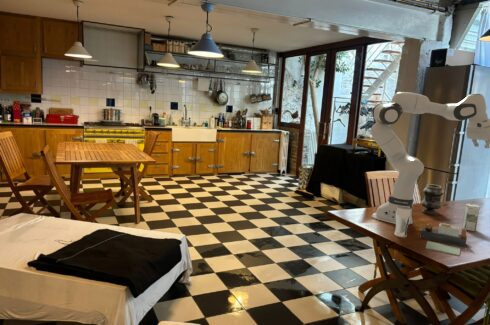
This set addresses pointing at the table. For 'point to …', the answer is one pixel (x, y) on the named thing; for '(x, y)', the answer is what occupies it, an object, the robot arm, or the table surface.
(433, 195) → the apothecary jar
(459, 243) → the plane body
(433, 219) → the table surface
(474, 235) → the table surface
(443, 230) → the lever cap
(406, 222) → the beer glass
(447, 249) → the rubber mat
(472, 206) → the syrup box
